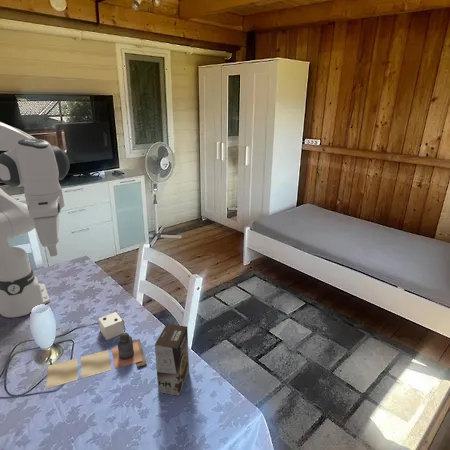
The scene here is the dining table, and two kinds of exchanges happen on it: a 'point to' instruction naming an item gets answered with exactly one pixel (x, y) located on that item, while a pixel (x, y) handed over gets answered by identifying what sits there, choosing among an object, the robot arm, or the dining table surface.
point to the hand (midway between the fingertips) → (54, 248)
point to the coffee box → (172, 359)
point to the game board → (92, 365)
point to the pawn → (125, 346)
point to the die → (111, 325)
